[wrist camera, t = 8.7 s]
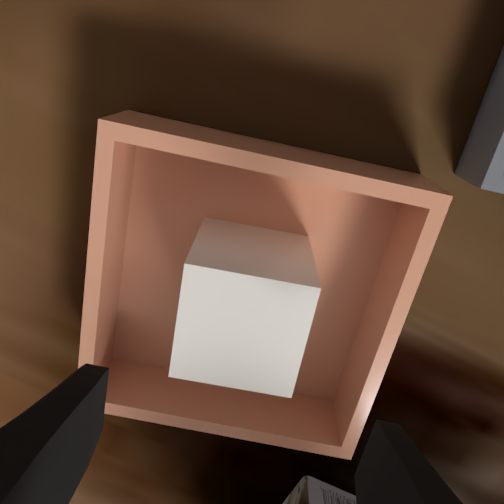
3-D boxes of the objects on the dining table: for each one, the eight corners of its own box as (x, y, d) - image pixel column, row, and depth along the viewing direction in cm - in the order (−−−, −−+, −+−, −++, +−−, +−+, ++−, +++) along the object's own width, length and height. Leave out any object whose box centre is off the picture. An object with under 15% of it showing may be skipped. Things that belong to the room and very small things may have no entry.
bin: (421, 174, 19) (453, 196, 16) (339, 405, 23) (350, 460, 20) (128, 109, 18) (98, 118, 15) (102, 359, 23) (74, 407, 20)
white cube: (308, 236, 20) (321, 288, 15) (286, 326, 21) (291, 398, 17) (204, 216, 19) (184, 263, 15) (190, 308, 21) (168, 376, 16)
